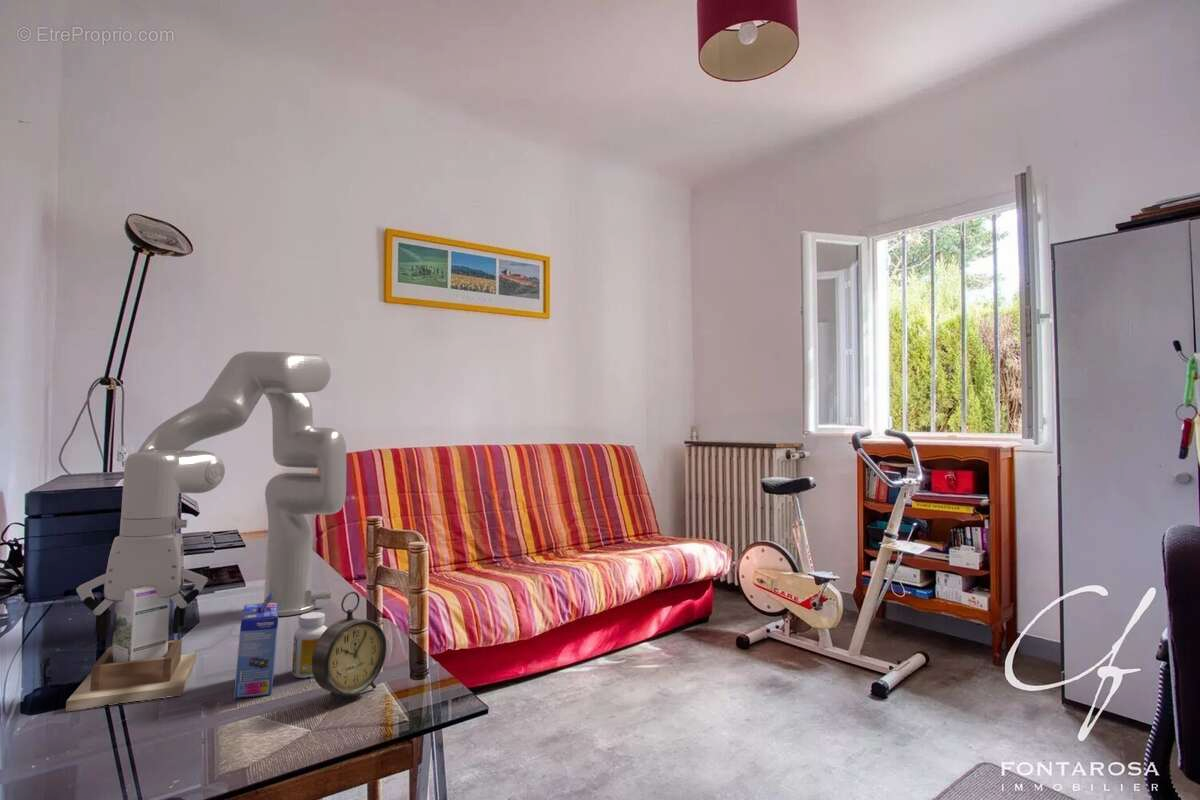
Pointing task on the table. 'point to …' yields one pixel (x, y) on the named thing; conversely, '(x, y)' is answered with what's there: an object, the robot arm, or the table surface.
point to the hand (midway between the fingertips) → (141, 634)
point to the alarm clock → (349, 655)
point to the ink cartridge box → (257, 649)
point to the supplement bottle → (306, 643)
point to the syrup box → (140, 626)
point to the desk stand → (133, 679)
